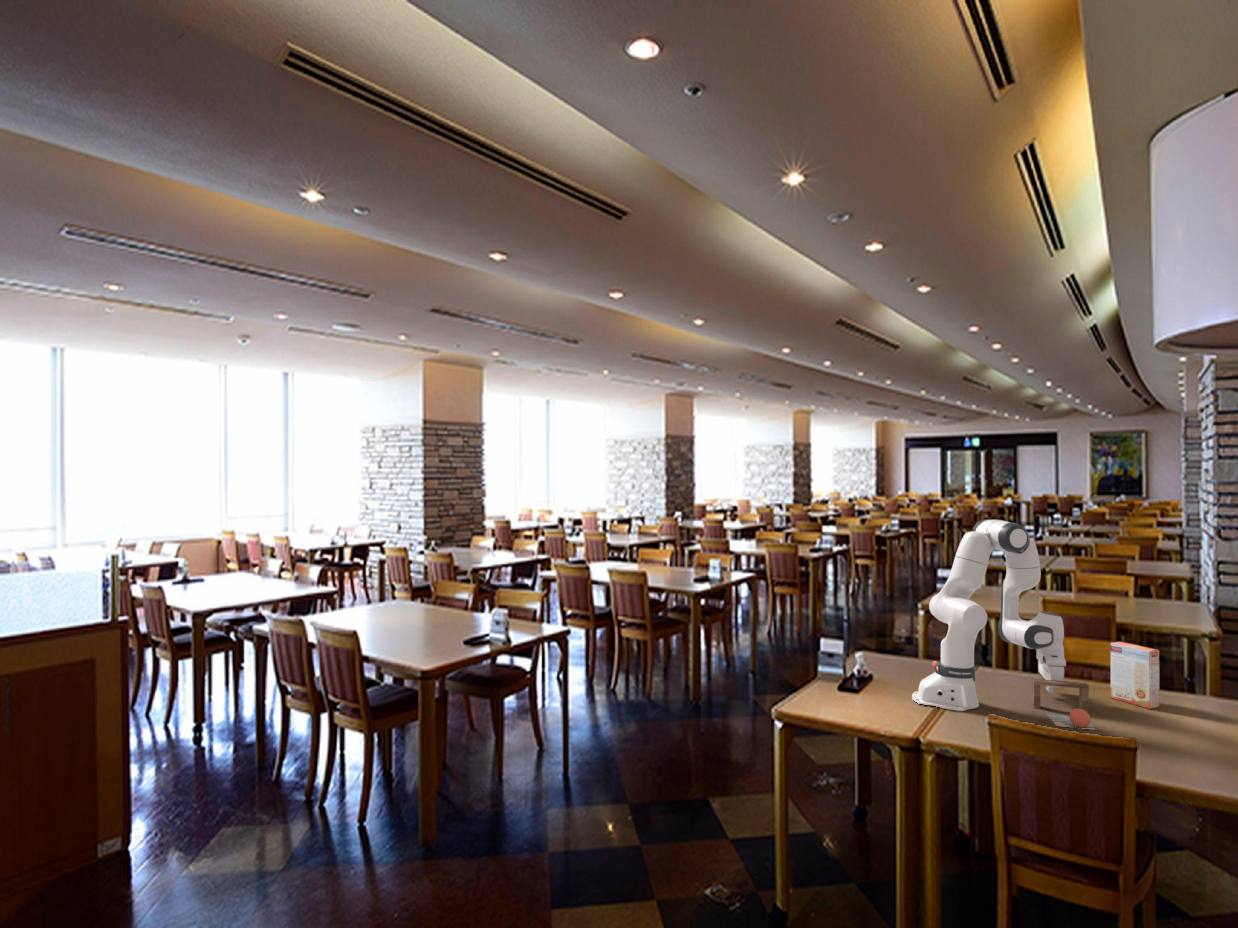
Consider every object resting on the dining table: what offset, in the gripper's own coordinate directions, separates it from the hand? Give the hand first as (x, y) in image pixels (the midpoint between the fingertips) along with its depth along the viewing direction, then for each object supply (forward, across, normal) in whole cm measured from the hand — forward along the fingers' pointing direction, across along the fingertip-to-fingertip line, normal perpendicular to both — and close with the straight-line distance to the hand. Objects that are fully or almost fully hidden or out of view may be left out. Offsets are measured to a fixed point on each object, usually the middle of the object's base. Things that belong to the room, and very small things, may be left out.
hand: (1050, 691), depth 268 cm
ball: (-1, +31, +2) cm, 31 cm away
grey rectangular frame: (+2, +13, 0) cm, 13 cm away
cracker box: (+2, -3, +28) cm, 28 cm away
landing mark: (+2, +27, 0) cm, 27 cm away
